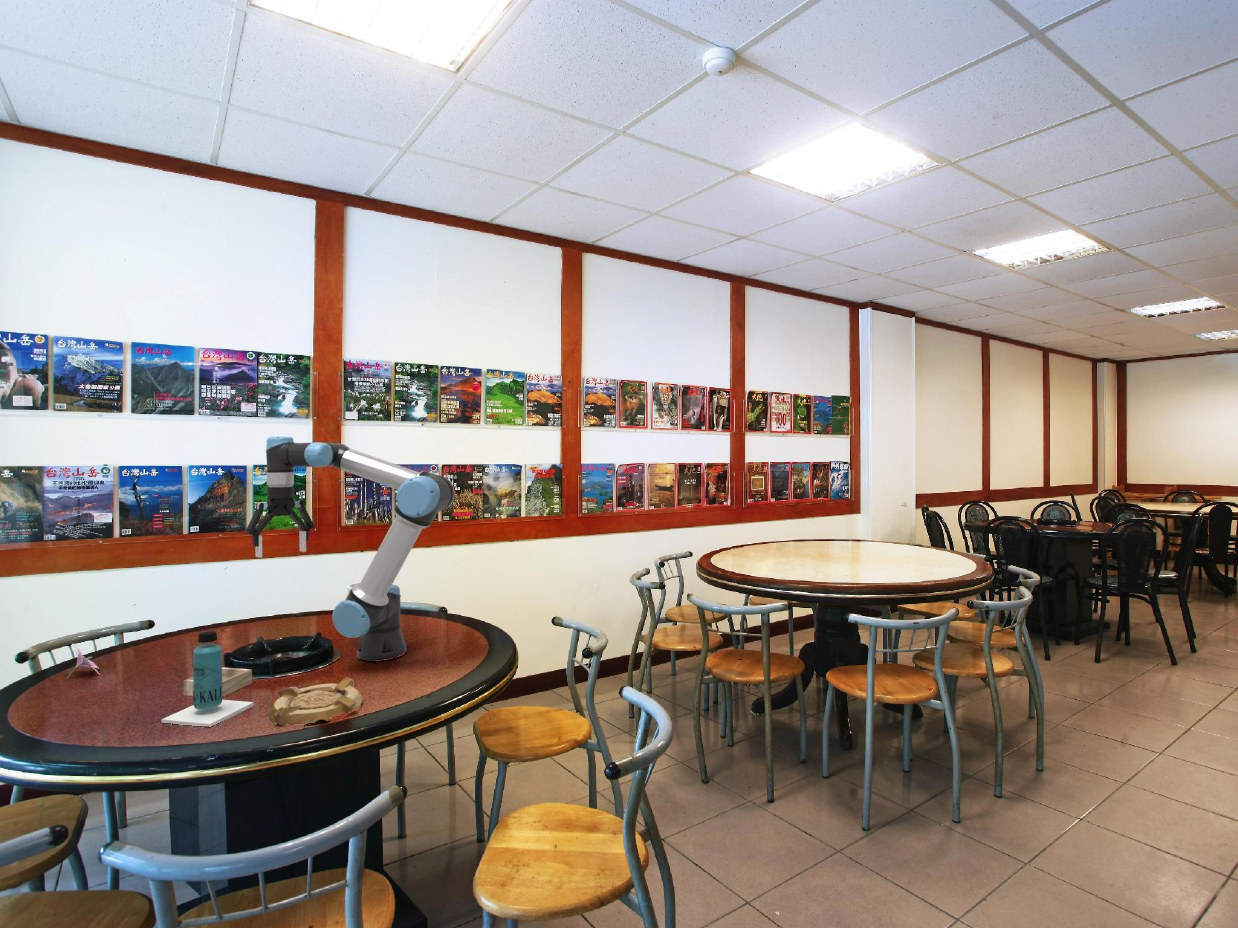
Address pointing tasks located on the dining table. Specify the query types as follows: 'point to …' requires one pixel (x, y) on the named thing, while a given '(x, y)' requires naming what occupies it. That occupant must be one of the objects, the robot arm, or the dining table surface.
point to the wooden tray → (226, 681)
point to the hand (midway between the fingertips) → (281, 554)
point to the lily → (83, 662)
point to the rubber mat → (208, 714)
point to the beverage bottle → (207, 672)
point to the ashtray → (314, 703)
